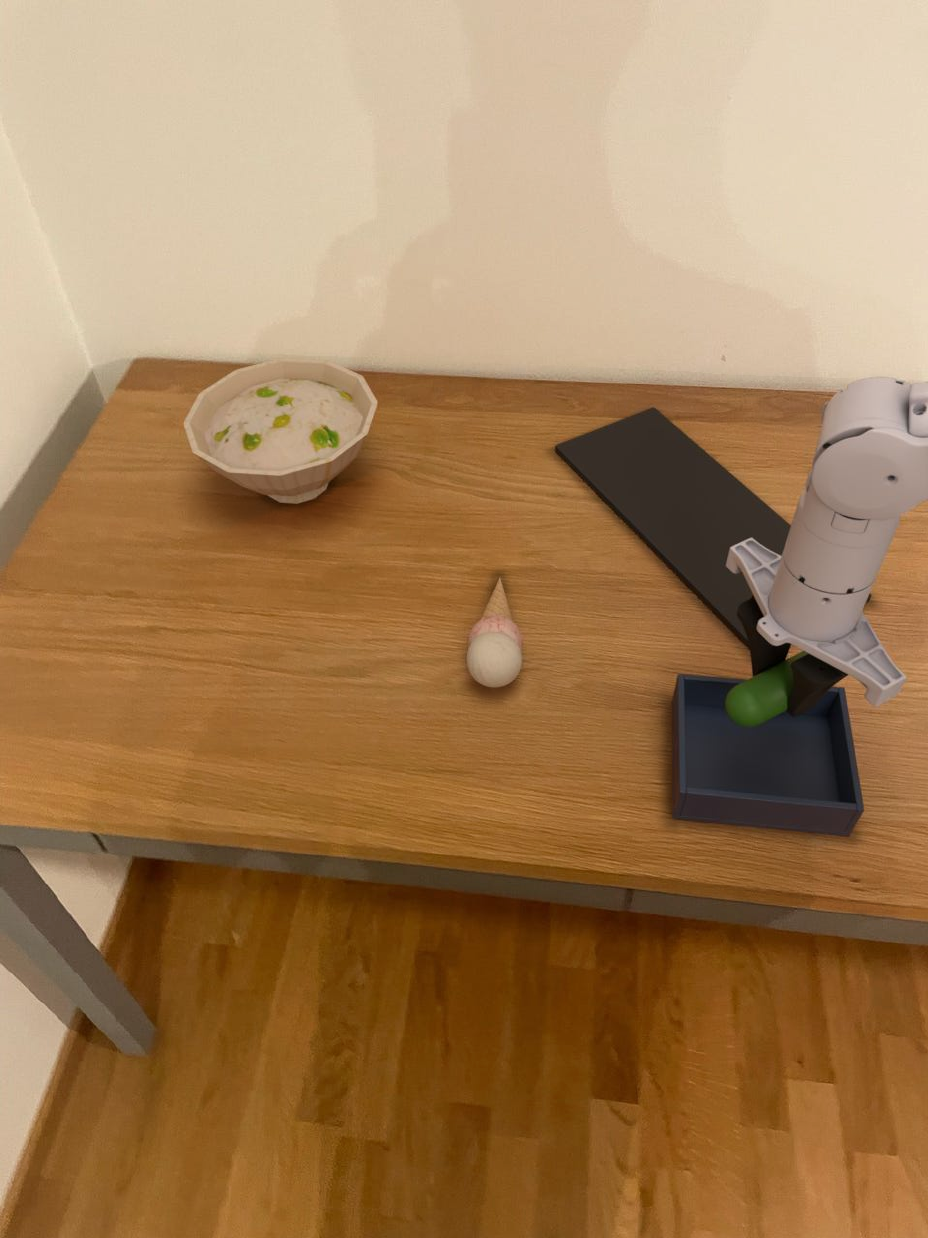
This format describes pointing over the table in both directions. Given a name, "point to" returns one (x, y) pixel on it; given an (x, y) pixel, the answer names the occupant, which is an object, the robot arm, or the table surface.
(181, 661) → the table surface
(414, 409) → the table surface
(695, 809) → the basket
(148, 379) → the table surface
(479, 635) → the ice cream cone
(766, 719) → the cucumber
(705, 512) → the mat
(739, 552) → the robot arm
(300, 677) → the table surface
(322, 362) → the bowl
